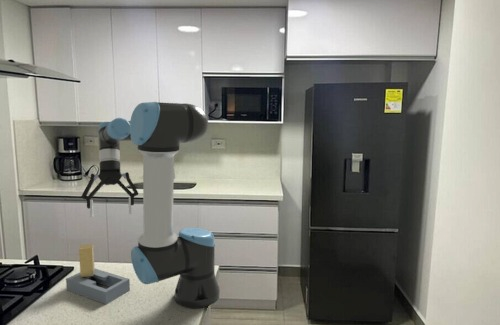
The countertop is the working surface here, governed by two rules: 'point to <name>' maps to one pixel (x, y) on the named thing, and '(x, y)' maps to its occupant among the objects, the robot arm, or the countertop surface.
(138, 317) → the countertop surface
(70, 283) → the keyhole block
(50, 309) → the countertop surface
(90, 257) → the peg
